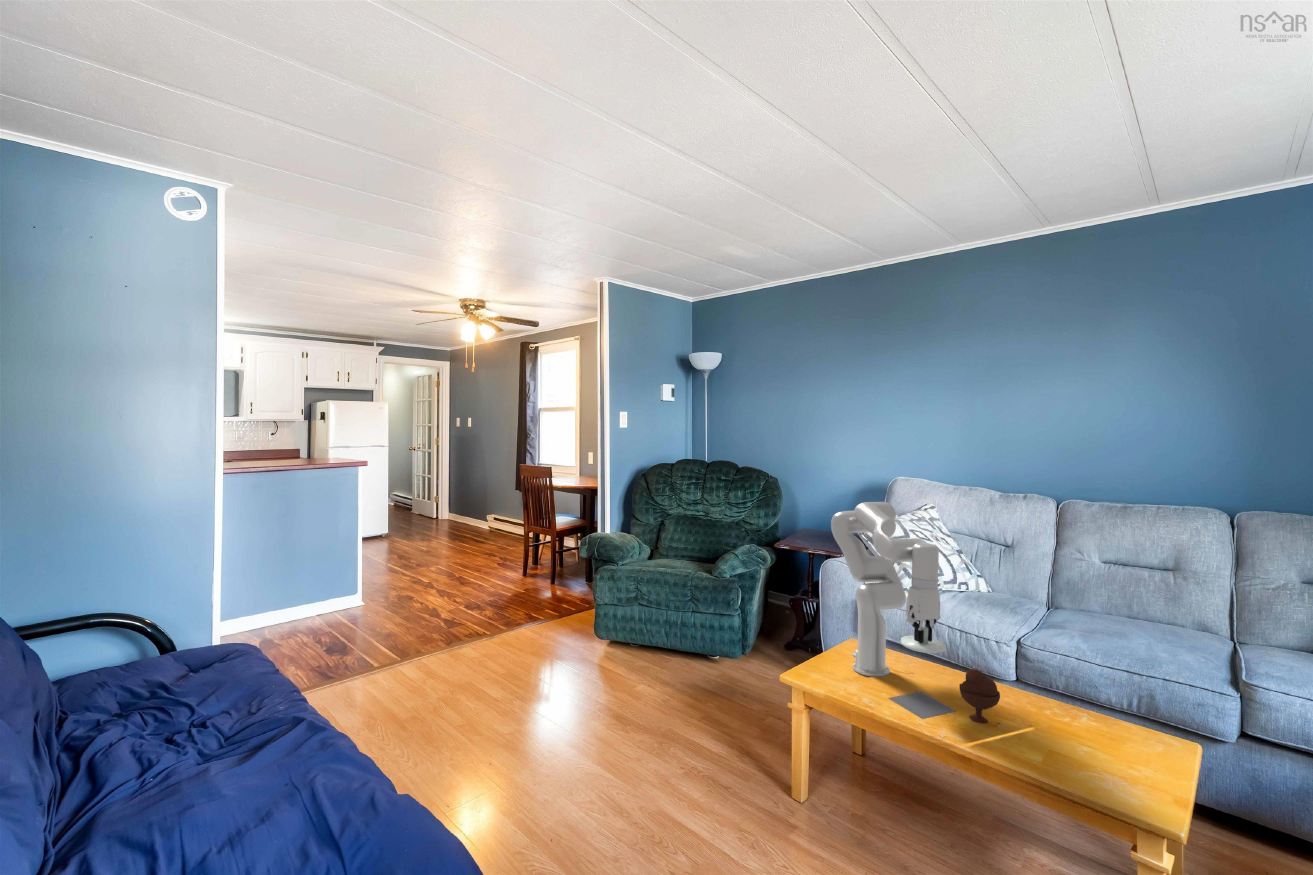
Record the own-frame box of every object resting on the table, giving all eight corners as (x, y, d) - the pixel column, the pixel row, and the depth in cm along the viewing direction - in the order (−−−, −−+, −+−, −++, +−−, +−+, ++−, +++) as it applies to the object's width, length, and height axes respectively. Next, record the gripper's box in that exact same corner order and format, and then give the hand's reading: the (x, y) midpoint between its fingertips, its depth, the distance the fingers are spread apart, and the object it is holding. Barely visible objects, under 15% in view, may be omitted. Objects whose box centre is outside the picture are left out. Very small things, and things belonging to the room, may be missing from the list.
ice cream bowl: (958, 724, 171) (959, 674, 171) (958, 708, 181) (959, 661, 181) (1000, 734, 166) (1001, 682, 166) (997, 717, 176) (999, 668, 176)
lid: (891, 640, 186) (892, 622, 186) (922, 635, 191) (922, 618, 190) (923, 655, 174) (924, 636, 174) (955, 650, 178) (956, 631, 178)
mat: (887, 699, 186) (887, 697, 186) (921, 693, 192) (921, 691, 192) (922, 720, 173) (922, 718, 173) (956, 712, 179) (956, 710, 178)
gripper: (934, 577, 188) (932, 633, 189) (895, 582, 182) (893, 639, 183) (953, 583, 181) (952, 641, 182) (913, 588, 175) (912, 648, 176)
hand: (922, 640), depth 182 cm, fingers closed on lid, 2 cm apart
